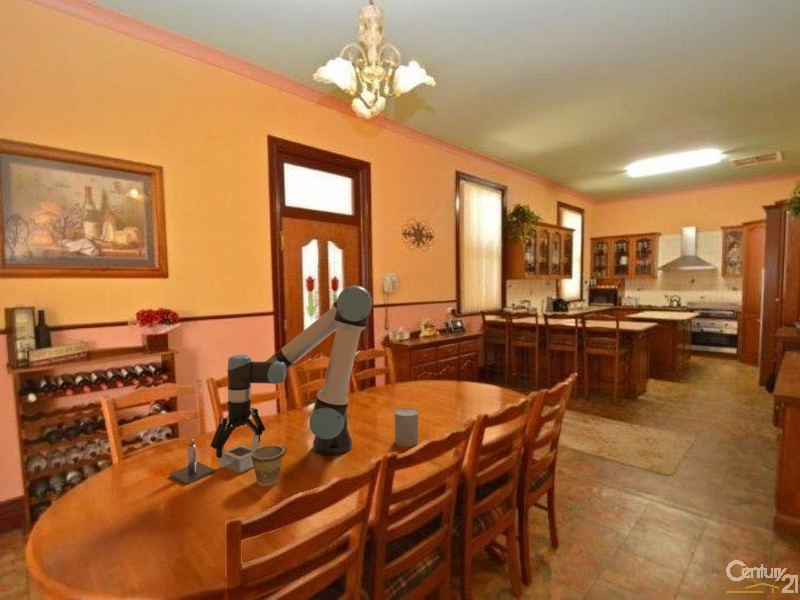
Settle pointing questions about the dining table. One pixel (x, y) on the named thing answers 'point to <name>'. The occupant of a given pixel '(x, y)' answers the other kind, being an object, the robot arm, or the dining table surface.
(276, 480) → the ceramic cup
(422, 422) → the dining table surface
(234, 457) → the grey block with hole
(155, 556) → the dining table surface
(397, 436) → the gray cylinder
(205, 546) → the dining table surface
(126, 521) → the dining table surface
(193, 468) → the keeper
